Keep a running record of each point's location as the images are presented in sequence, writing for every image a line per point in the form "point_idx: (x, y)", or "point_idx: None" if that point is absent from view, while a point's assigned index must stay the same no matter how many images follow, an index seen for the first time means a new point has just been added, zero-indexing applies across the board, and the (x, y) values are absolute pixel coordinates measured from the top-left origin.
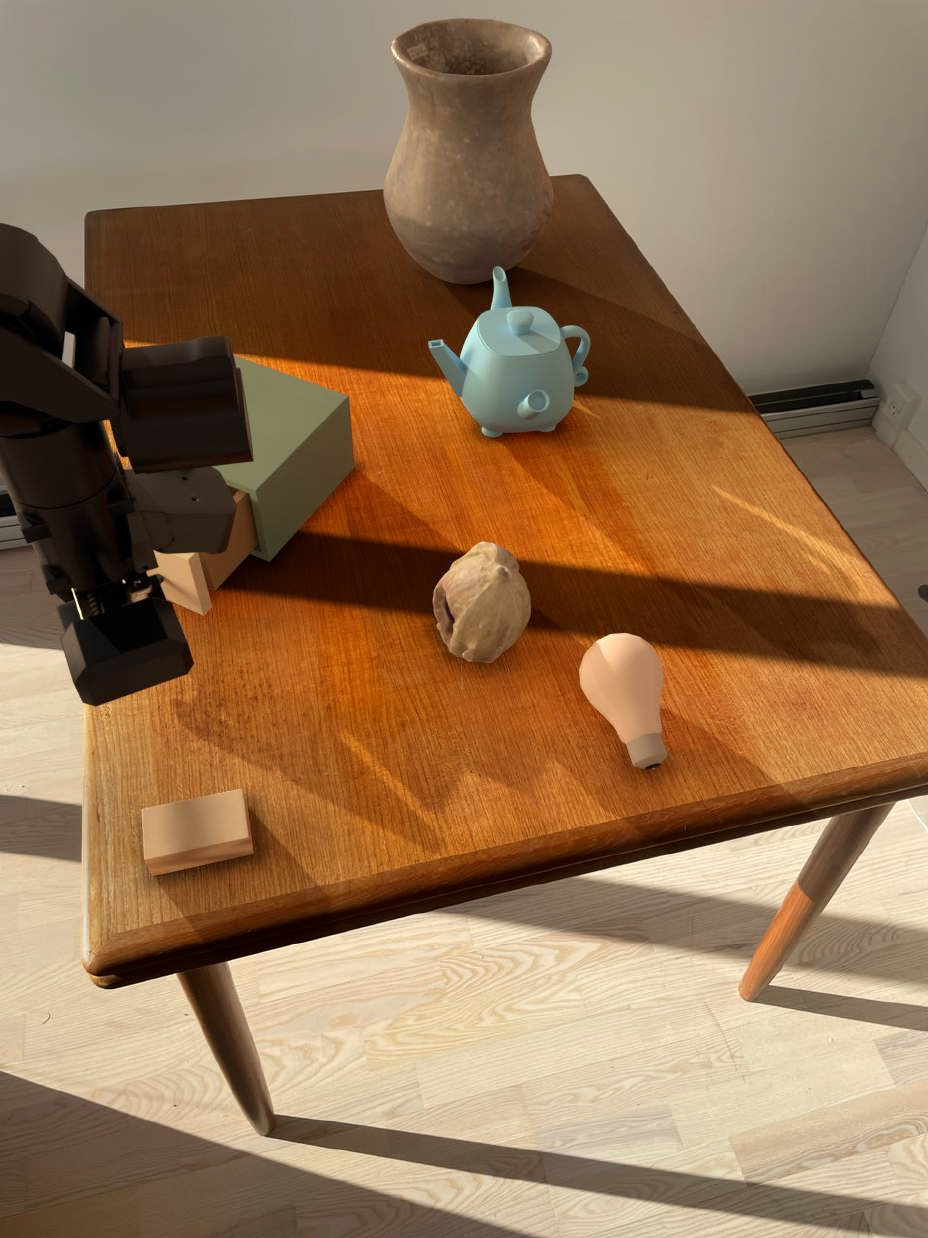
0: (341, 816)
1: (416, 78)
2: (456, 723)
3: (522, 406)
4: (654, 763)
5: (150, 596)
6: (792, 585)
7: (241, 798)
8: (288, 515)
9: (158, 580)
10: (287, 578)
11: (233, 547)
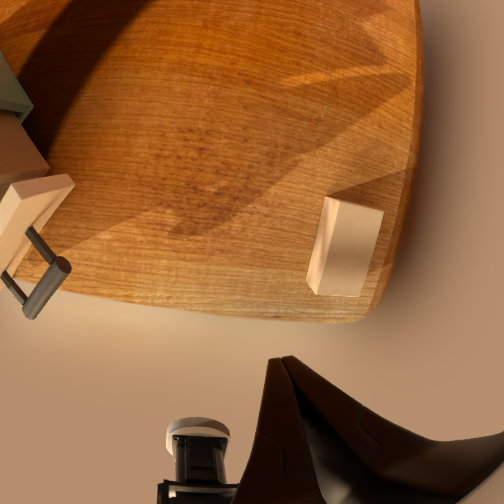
0: (366, 124)
1: None
2: (314, 2)
3: None
4: None
5: (498, 467)
6: None
7: (349, 205)
8: (2, 77)
9: (484, 478)
10: (59, 89)
11: (12, 137)
